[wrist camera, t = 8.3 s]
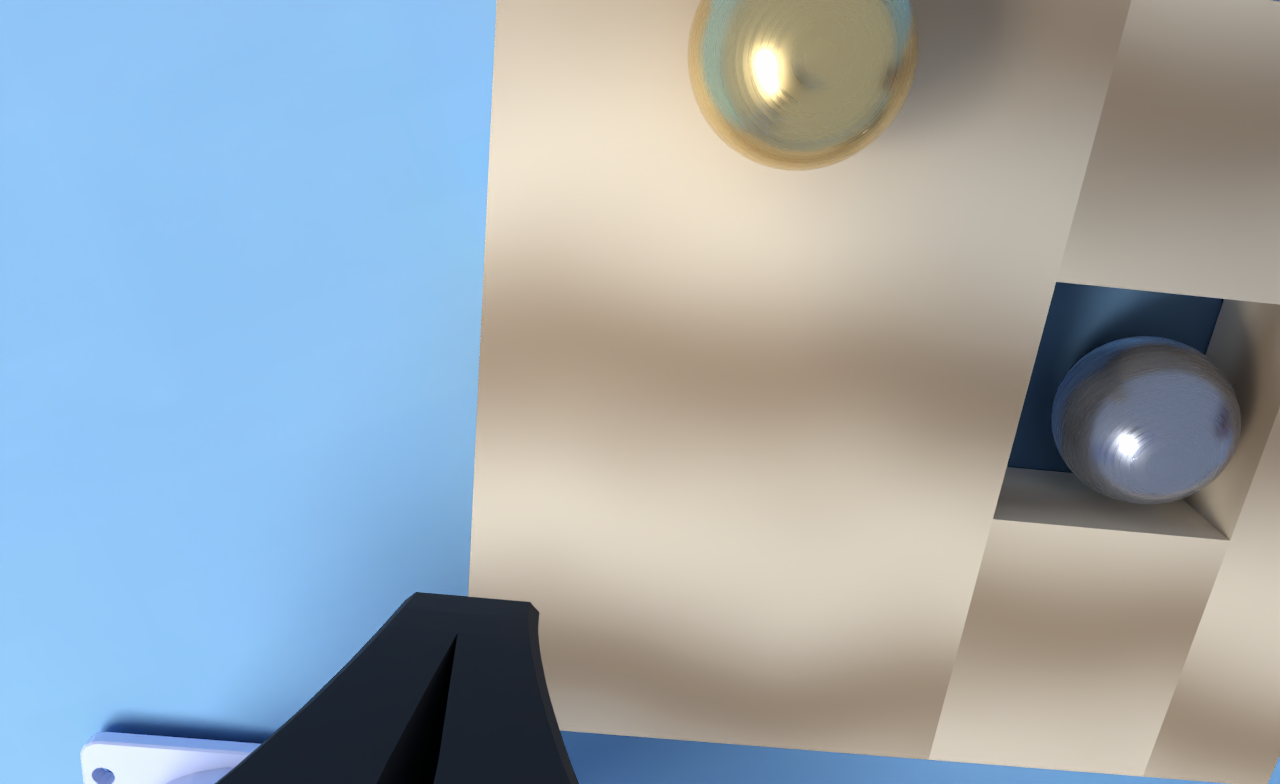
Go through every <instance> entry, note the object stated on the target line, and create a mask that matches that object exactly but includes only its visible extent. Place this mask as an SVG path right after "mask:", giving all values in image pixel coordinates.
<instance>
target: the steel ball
mask: <svg viewBox="0 0 1280 784" xmlns="http://www.w3.org/2000/svg"><path fill="white" fill-rule="evenodd" d="M1052 432H1053V436H1054V440H1055V444H1056V446H1057V449H1058V451H1059V453H1060V455H1061V457H1062V459H1063V460H1064V462H1065V464H1066V465H1067V466H1068V468H1069V469H1070V470H1071V471H1072V472H1073V473H1074V474H1075V476H1076V477H1077V478H1078V479H1080V480H1081V481H1082V482H1083V483H1084V484H1086V485H1087V486H1088V487H1090V488H1092V489H1093V490H1095V491H1096V492H1098V493H1100V494H1103V495H1105V496H1107V497H1109V498H1112V499H1115V500H1118V501H1122V502H1127V503H1132V504H1141V505H1154V504H1163V503H1169V502H1173V501H1177V500H1180V499H1183V498H1185V497H1188V496H1190V495H1192V494H1194V493H1196V492H1198V491H1200V490H1202V489H1203V488H1205V487H1206V486H1208V485H1209V484H1210V483H1211V482H1213V481H1214V480H1215V479H1216V478H1217V477H1218V476H1219V475H1220V474H1221V473H1222V471H1223V470H1224V469H1225V468H1226V466H1227V465H1228V463H1229V462H1230V460H1231V458H1232V457H1233V455H1234V453H1235V450H1236V448H1237V444H1238V441H1239V437H1240V433H1241V412H1240V406H1239V402H1238V399H1237V396H1236V392H1235V390H1234V388H1233V386H1232V385H1231V383H1230V381H1229V379H1228V378H1227V376H1226V375H1225V374H1224V372H1223V371H1222V370H1221V369H1220V368H1219V367H1218V366H1217V365H1216V364H1215V363H1214V362H1213V361H1212V360H1211V359H1210V358H1209V357H1207V356H1206V355H1204V354H1203V353H1201V352H1200V351H1198V350H1197V349H1195V348H1193V347H1191V346H1189V345H1187V344H1184V343H1181V342H1178V341H1175V340H1172V339H1167V338H1163V337H1153V336H1135V337H1127V338H1123V339H1118V340H1115V341H1112V342H1109V343H1106V344H1104V345H1102V346H1100V347H1097V348H1096V349H1094V350H1092V351H1091V352H1089V353H1087V354H1086V355H1085V356H1083V357H1082V358H1081V359H1080V360H1079V361H1078V362H1076V363H1075V364H1074V365H1073V366H1072V368H1071V369H1070V370H1069V371H1068V373H1067V374H1066V375H1065V377H1064V378H1063V380H1062V382H1061V383H1060V385H1059V387H1058V390H1057V392H1056V395H1055V399H1054V402H1053V406H1052Z"/></svg>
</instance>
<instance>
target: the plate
mask: <svg viewBox="0 0 1280 784" xmlns="http://www.w3.org/2000/svg"><path fill="white" fill-rule="evenodd" d="M911 1H912V4H913V7H914V11H915V15H916V19H917V24H918V33H919V55H918V62H917V69H916V73H915V77H914V80H913V84H912V86H911V89H910V92H909V94H908V97H907V99H906V101H905V103H904V104H903V106H902V108H901V110H900V112H899V113H898V115H897V116H896V117H895V119H894V120H893V122H892V123H891V125H890V126H889V127H888V128H887V129H886V130H885V131H884V132H883V133H882V135H881V136H880V137H878V138H877V139H876V140H875V141H874V142H873V143H872V144H870V145H869V146H868V147H866V148H865V149H863V150H862V151H861V152H859V153H858V154H856V155H854V156H852V157H850V158H848V159H846V160H844V161H842V162H839V163H836V164H834V165H831V166H828V167H823V168H819V169H815V170H805V171H787V170H780V169H774V168H770V167H767V166H764V165H760V164H757V163H755V162H753V161H751V160H749V159H747V158H745V157H743V156H742V155H740V154H739V153H737V152H736V151H734V150H733V149H731V148H730V147H729V146H728V145H726V144H725V143H724V142H723V141H722V140H721V139H720V138H719V137H718V136H717V135H716V134H715V132H714V131H713V130H712V129H711V128H710V126H709V125H708V123H707V122H706V120H705V119H704V117H703V115H702V113H701V111H700V109H699V107H698V105H697V103H696V100H695V97H694V94H693V91H692V88H691V83H690V78H689V73H688V59H687V56H688V41H689V35H690V30H691V25H692V22H693V18H694V15H695V12H696V9H697V7H698V5H699V3H700V0H497V6H496V27H495V48H494V69H493V90H492V111H491V132H490V153H489V174H488V195H487V215H486V236H485V257H484V278H483V299H482V320H481V341H480V362H479V383H478V404H477V425H476V446H475V466H474V487H473V508H472V529H471V550H470V571H469V592H468V597H478V598H490V599H502V600H514V601H526V602H531V603H532V605H533V606H534V607H535V608H536V609H537V610H538V611H539V624H538V636H539V646H540V653H541V659H542V664H543V669H544V674H545V679H546V684H547V688H548V692H549V696H550V700H551V703H552V706H553V710H554V713H555V716H556V720H557V723H558V726H559V730H560V731H572V732H585V733H598V734H610V735H623V736H636V737H648V738H661V739H674V740H686V741H699V742H712V743H724V744H737V745H750V746H762V747H775V748H788V749H800V750H813V751H826V752H838V753H851V754H864V755H876V756H889V757H902V758H914V759H927V760H940V761H952V762H965V763H978V764H990V765H1003V766H1016V767H1028V768H1041V769H1054V770H1066V771H1079V772H1092V773H1104V774H1117V775H1130V776H1142V777H1155V778H1168V779H1180V780H1193V781H1206V782H1219V783H1231V784H1268V782H1269V779H1270V777H1271V775H1272V772H1273V770H1274V768H1275V765H1276V763H1277V761H1278V758H1279V756H1280V1H1272V0H911ZM1056 282H1063V283H1073V284H1083V285H1093V286H1102V287H1112V288H1122V289H1132V290H1142V291H1151V292H1161V293H1171V294H1181V295H1191V296H1200V297H1210V298H1220V299H1224V301H1223V304H1222V307H1221V310H1220V313H1219V316H1218V319H1217V322H1216V325H1215V328H1214V331H1213V334H1212V337H1211V340H1210V343H1209V346H1208V349H1207V352H1206V356H1207V357H1209V358H1210V359H1211V360H1212V361H1213V362H1214V363H1215V364H1216V365H1217V366H1218V367H1219V368H1220V369H1221V370H1222V371H1223V372H1224V374H1225V375H1226V376H1227V378H1228V379H1229V381H1230V383H1231V385H1232V386H1233V388H1234V390H1235V392H1236V396H1237V399H1238V402H1239V406H1240V412H1241V433H1240V437H1239V441H1238V444H1237V448H1236V450H1235V453H1234V455H1233V457H1232V458H1231V460H1230V462H1229V463H1228V465H1227V466H1226V468H1225V469H1224V470H1223V471H1222V473H1221V474H1220V475H1219V476H1218V477H1217V478H1216V479H1215V480H1214V481H1213V482H1211V483H1210V484H1209V485H1208V486H1206V487H1205V488H1203V489H1202V490H1200V491H1198V492H1196V493H1194V494H1192V495H1190V496H1188V497H1185V498H1183V499H1180V500H1177V501H1173V502H1169V503H1163V504H1154V505H1141V504H1132V503H1127V502H1122V501H1118V500H1115V499H1112V498H1109V497H1107V496H1105V495H1103V494H1100V493H1098V492H1096V491H1095V490H1093V489H1092V488H1090V487H1088V486H1087V485H1086V484H1084V483H1083V482H1082V481H1081V480H1080V479H1078V478H1077V477H1076V476H1075V474H1074V473H1067V472H1056V471H1045V470H1034V469H1024V468H1013V467H1007V464H1008V460H1009V457H1010V453H1011V449H1012V445H1013V442H1014V438H1015V434H1016V430H1017V427H1018V423H1019V419H1020V416H1021V412H1022V408H1023V404H1024V401H1025V397H1026V393H1027V389H1028V386H1029V382H1030V378H1031V374H1032V371H1033V367H1034V363H1035V359H1036V356H1037V352H1038V348H1039V344H1040V341H1041V337H1042V333H1043V329H1044V326H1045V322H1046V318H1047V314H1048V311H1049V307H1050V303H1051V299H1052V296H1053V292H1054V288H1055V285H1056Z"/></svg>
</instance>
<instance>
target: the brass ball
mask: <svg viewBox="0 0 1280 784" xmlns="http://www.w3.org/2000/svg"><path fill="white" fill-rule="evenodd" d="M918 55H919V33H918V24H917V19H916V15H915V11H914V7H913V4H912V1H911V0H700V3H699V5H698V7H697V9H696V12H695V15H694V18H693V22H692V25H691V30H690V35H689V41H688V56H687V59H688V73H689V78H690V83H691V88H692V91H693V94H694V97H695V100H696V103H697V105H698V107H699V109H700V111H701V113H702V115H703V117H704V119H705V120H706V122H707V123H708V125H709V126H710V128H711V129H712V130H713V131H714V132H715V134H716V135H717V136H718V137H719V138H720V139H721V140H722V141H723V142H724V143H725V144H726V145H728V146H729V147H730V148H731V149H733V150H734V151H736V152H737V153H739V154H740V155H742V156H743V157H745V158H747V159H749V160H751V161H753V162H755V163H757V164H760V165H764V166H767V167H770V168H774V169H780V170H787V171H805V170H815V169H819V168H823V167H828V166H831V165H834V164H836V163H839V162H842V161H844V160H846V159H848V158H850V157H852V156H854V155H856V154H858V153H859V152H861V151H862V150H863V149H865V148H866V147H868V146H869V145H870V144H872V143H873V142H874V141H875V140H876V139H877V138H878V137H880V136H881V135H882V133H883V132H884V131H885V130H886V129H887V128H888V127H889V126H890V125H891V123H892V122H893V120H894V119H895V117H896V116H897V115H898V113H899V112H900V110H901V108H902V106H903V104H904V103H905V101H906V99H907V97H908V94H909V92H910V89H911V86H912V84H913V80H914V77H915V73H916V69H917V62H918Z"/></svg>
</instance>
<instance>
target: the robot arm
mask: <svg viewBox="0 0 1280 784" xmlns="http://www.w3.org/2000/svg"><path fill="white" fill-rule="evenodd" d="M538 624H539V611H538V610H537V609H536V608H535V607H534V606H533V605H532V603H531V602H526V601H514V600H502V599H490V598H478V597H467V596H455V595H443V594H431V593H419V592H416V593H414V594H413V595H412V596H410V597H409V598H408V599H406V600H405V601H404V602H403V603H402V605H401V606H400V607H399V608H398V609H397V610H396V611H395V613H394V614H393V615H392V616H391V617H390V618H389V619H388V620H387V622H386V623H385V624H384V625H383V626H382V627H381V628H380V629H379V630H378V631H377V633H376V634H375V635H374V636H373V637H372V638H371V639H370V640H369V641H368V642H367V643H366V644H365V645H364V646H363V647H362V649H361V650H360V651H359V652H358V653H357V654H356V655H355V656H354V657H353V658H352V659H351V660H350V661H349V662H348V663H347V664H346V665H345V666H344V667H343V668H342V669H341V670H340V671H339V672H338V673H337V674H336V675H335V676H334V677H333V678H332V679H331V680H330V681H329V682H328V683H327V684H326V685H325V686H324V687H323V688H322V689H321V690H320V691H319V692H318V693H317V694H316V695H315V696H314V697H313V698H312V699H310V700H309V701H308V702H307V703H306V704H305V705H304V706H303V707H302V708H301V709H300V710H299V711H298V712H297V713H296V714H295V715H294V716H293V717H292V718H290V719H289V720H288V721H287V722H286V723H285V724H284V725H283V726H281V727H280V728H279V729H278V730H277V731H276V732H274V733H273V734H272V735H271V736H270V737H269V738H268V739H266V740H265V741H264V742H263V743H262V744H258V743H245V742H232V741H219V740H206V739H193V738H180V737H167V736H154V735H141V734H128V733H115V732H99V733H97V734H94V735H92V736H91V738H90V739H89V740H88V741H87V743H86V744H85V746H84V747H83V748H82V750H81V755H80V757H81V765H82V773H83V780H84V784H579V783H578V781H577V778H576V776H575V773H574V771H573V768H572V765H571V762H570V760H569V757H568V754H567V751H566V748H565V745H564V743H563V739H562V736H561V733H560V730H559V726H558V723H557V720H556V716H555V713H554V710H553V706H552V703H551V700H550V696H549V692H548V688H547V684H546V679H545V674H544V669H543V664H542V659H541V653H540V646H539V636H538ZM102 767H103V768H106V769H109V770H110V771H111V772H113V773H111V772H107V771H106V770H104V769H103V768H102Z"/></svg>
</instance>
